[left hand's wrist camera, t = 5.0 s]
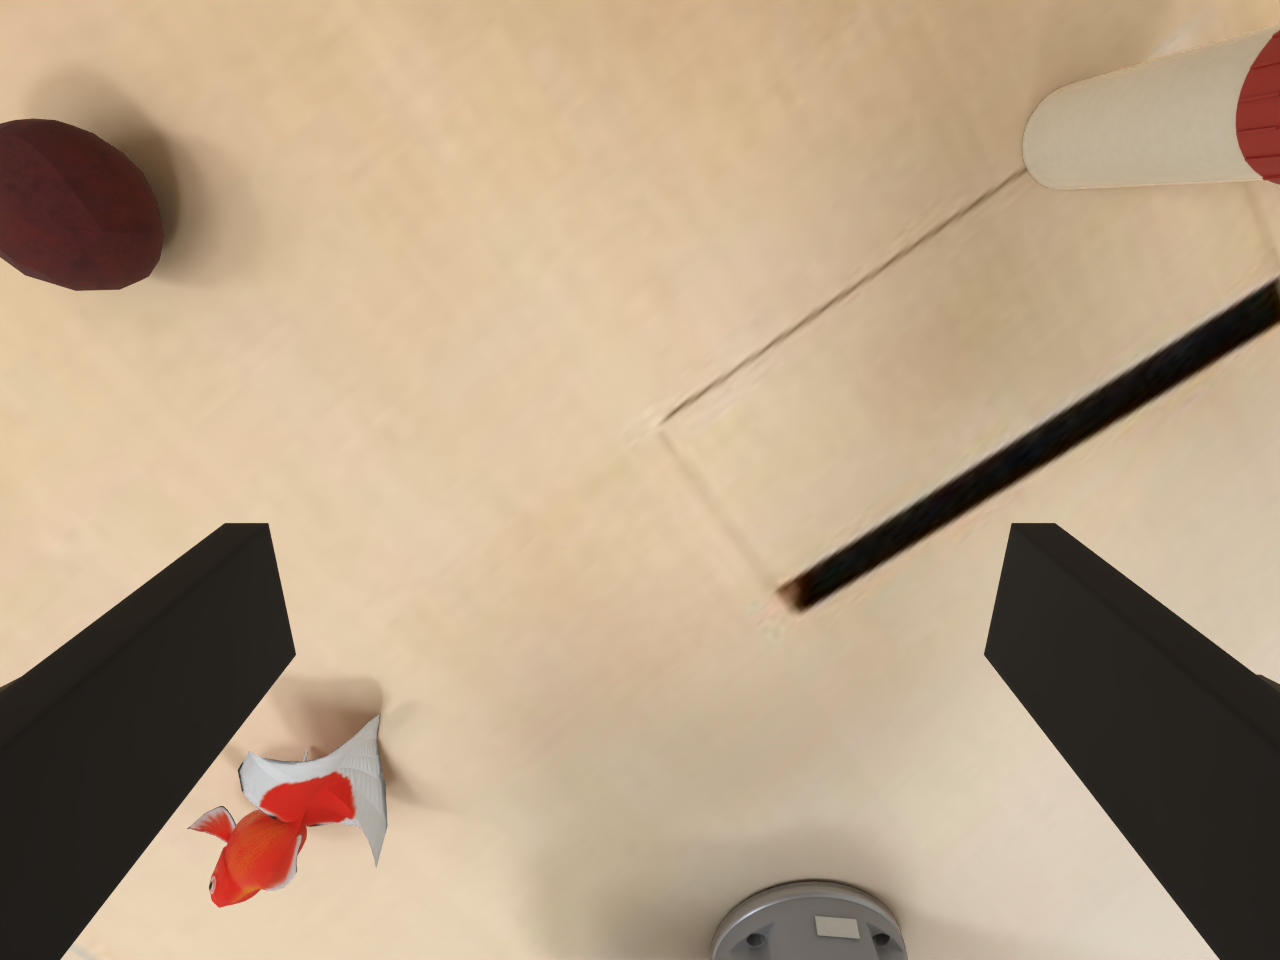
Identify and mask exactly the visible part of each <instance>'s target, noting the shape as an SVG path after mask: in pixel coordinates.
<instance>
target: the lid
mask: <svg viewBox="0 0 1280 960" xmlns="http://www.w3.org/2000/svg"><path fill="white" fill-rule="evenodd" d="M1236 135H1237V140H1238V144H1239V148H1240V150H1241V152H1242V155H1243V157H1244V158H1245V159H1244V160H1245V162H1247V163H1248V165H1249V166H1250V167H1251V168H1252V169H1253V170H1254V171H1255V172H1256V173H1257V174H1259V175H1260V176H1261V177H1263V178H1262V179H1263V180H1269V181H1271V182H1273V183H1276V184H1280V30H1279V31H1278V32H1277V33H1274V34H1273V35H1272V38H1271V39H1270V40H1269V41H1268V43H1267V44H1266V45H1265V46H1264V48H1263V49H1262V50H1261V52H1260V53H1259V55H1258V56H1257V58H1256V59H1255V61H1254V62H1253V64H1252V65H1251V67H1250V70H1249V72H1248V74H1247V76H1246V78H1245V81H1244V83H1243V86H1242V88H1241V92H1240V95H1239V99H1238V104H1237V110H1236Z"/></svg>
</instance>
